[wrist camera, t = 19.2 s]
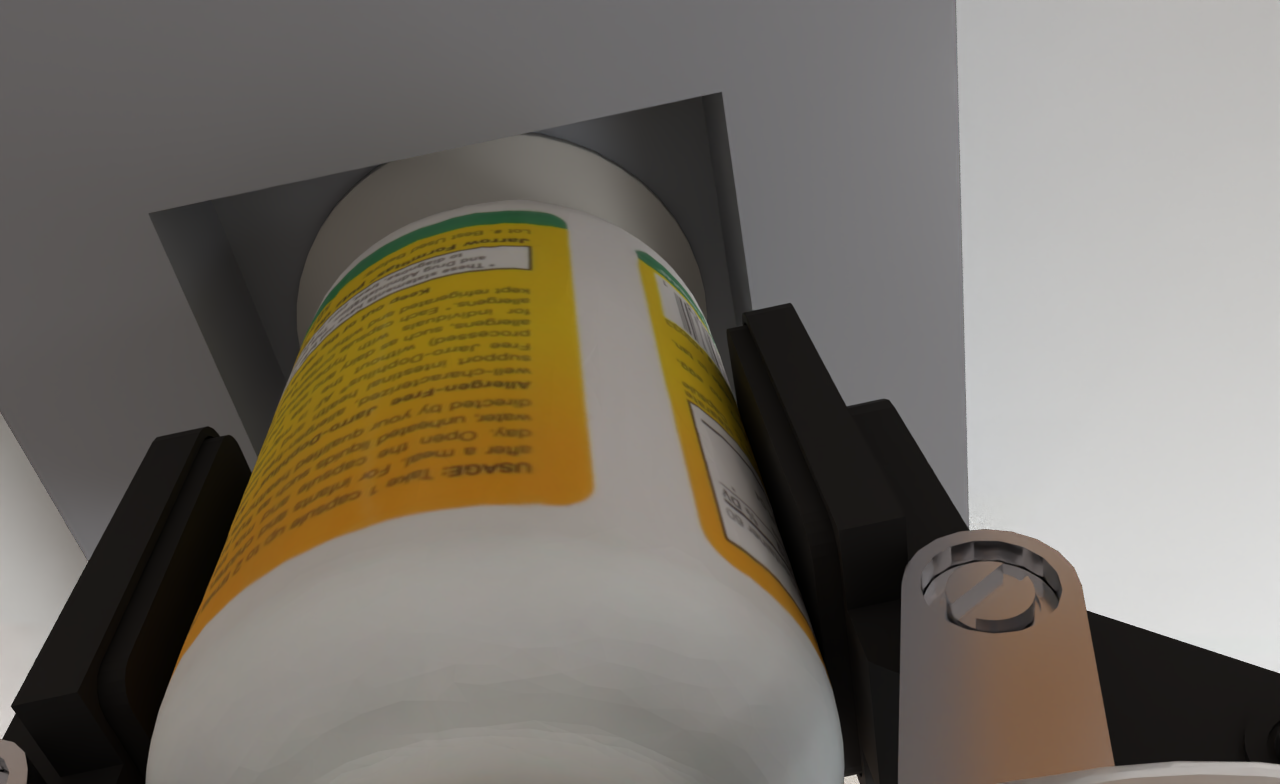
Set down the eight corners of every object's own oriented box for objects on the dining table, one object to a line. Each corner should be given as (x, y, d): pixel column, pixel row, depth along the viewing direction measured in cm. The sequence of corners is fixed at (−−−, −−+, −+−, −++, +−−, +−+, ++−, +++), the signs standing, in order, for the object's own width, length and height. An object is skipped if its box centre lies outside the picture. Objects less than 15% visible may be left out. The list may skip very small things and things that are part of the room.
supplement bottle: (784, 286, 14) (1191, 1048, 6) (606, 583, 16) (707, 1445, 8) (385, 112, 12) (117, 824, 4) (248, 470, 14) (-108, 1410, 6)
